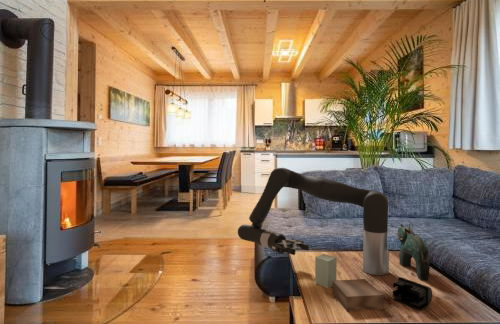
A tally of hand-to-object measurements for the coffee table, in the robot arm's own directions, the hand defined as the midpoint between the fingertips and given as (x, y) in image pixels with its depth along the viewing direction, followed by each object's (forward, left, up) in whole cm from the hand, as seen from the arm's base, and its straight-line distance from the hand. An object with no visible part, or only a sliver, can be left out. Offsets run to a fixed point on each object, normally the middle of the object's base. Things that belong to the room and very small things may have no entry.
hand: (301, 250), depth 125 cm
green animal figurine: (-47, 0, -10) cm, 49 cm away
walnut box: (-13, +23, -10) cm, 28 cm away
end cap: (-31, +25, -10) cm, 41 cm away
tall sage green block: (-7, +9, -10) cm, 15 cm away
